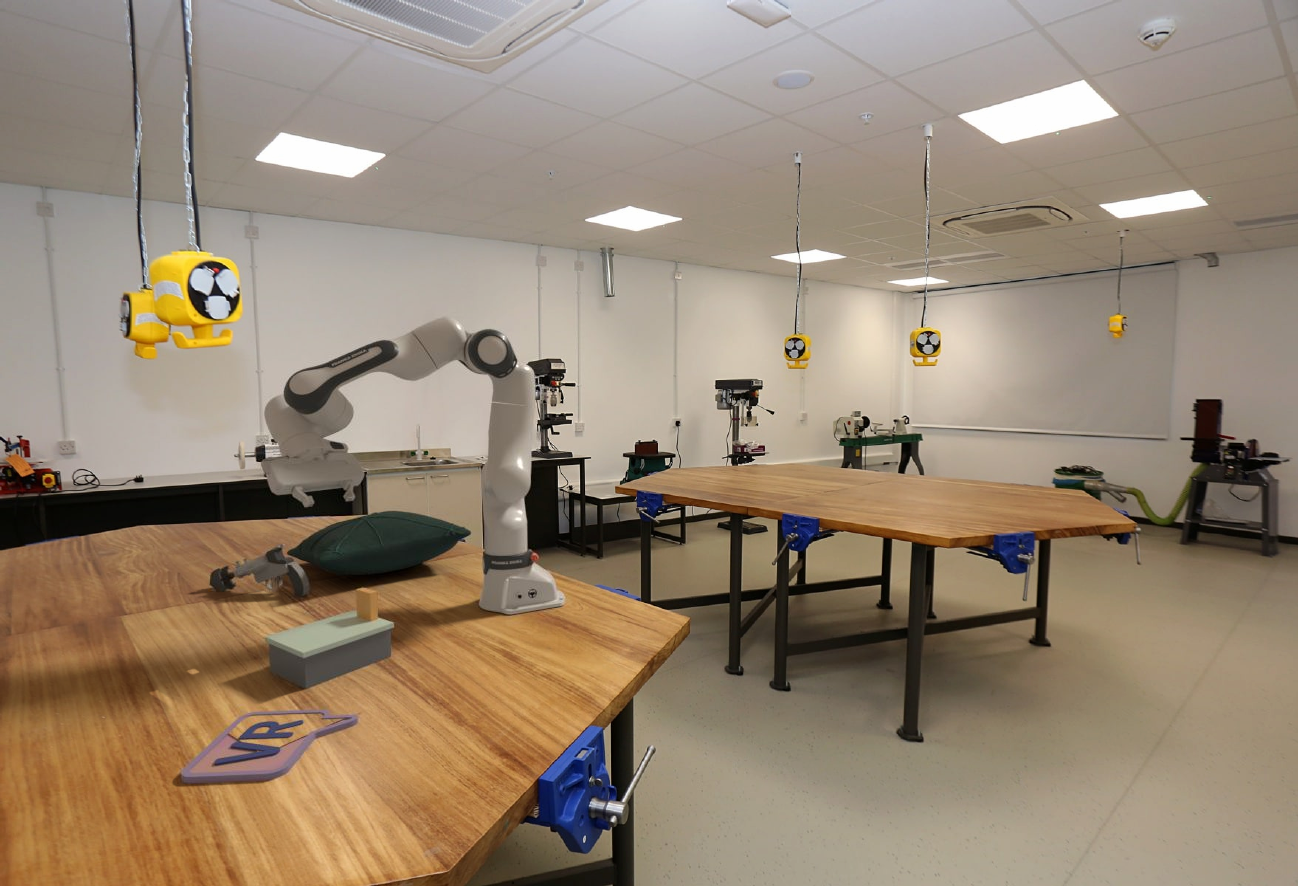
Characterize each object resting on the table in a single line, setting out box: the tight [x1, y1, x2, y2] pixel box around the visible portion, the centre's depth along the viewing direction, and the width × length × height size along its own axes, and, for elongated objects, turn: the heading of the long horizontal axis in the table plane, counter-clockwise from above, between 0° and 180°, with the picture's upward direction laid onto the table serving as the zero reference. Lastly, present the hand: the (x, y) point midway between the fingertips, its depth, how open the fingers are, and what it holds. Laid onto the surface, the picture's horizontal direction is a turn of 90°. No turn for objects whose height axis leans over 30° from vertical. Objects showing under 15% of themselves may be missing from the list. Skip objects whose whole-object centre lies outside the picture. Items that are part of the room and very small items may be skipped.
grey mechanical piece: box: [209, 543, 310, 598], centre depth 180 cm, size 6×28×16 cm, turn 78°
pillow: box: [286, 510, 472, 576], centre depth 204 cm, size 44×18×44 cm
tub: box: [268, 628, 392, 690], centre depth 132 cm, size 18×13×7 cm
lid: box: [264, 587, 395, 658], centre depth 131 cm, size 19×14×8 cm
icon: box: [180, 709, 359, 784], centre depth 103 cm, size 19×2×20 cm
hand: (331, 502), depth 143 cm, fingers open, 8 cm apart
